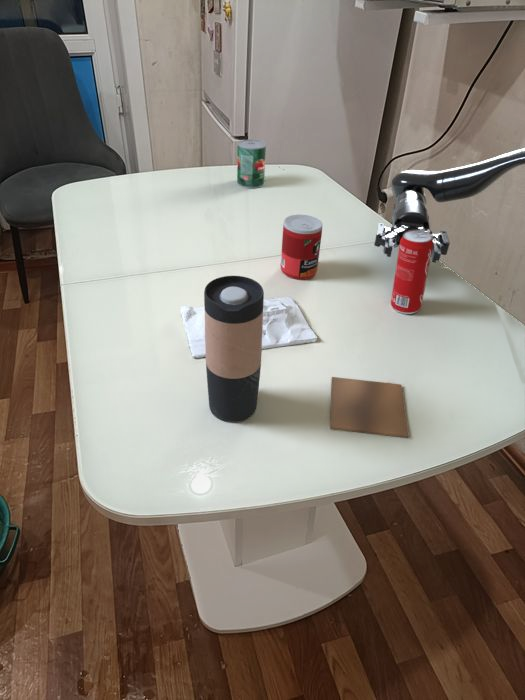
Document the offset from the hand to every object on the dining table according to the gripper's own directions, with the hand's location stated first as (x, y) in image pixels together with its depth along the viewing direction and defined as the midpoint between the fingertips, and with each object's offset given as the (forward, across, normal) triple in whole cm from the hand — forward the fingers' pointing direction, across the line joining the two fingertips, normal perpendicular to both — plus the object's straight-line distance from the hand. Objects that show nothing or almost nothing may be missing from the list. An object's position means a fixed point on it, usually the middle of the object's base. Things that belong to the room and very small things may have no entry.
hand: (412, 255), depth 98 cm
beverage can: (+5, 0, -9) cm, 10 cm away
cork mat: (+35, +6, -8) cm, 36 cm away
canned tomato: (-50, +43, -9) cm, 66 cm away
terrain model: (+19, +28, -9) cm, 35 cm away
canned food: (-3, +22, -9) cm, 24 cm away
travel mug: (+39, +25, -9) cm, 47 cm away
